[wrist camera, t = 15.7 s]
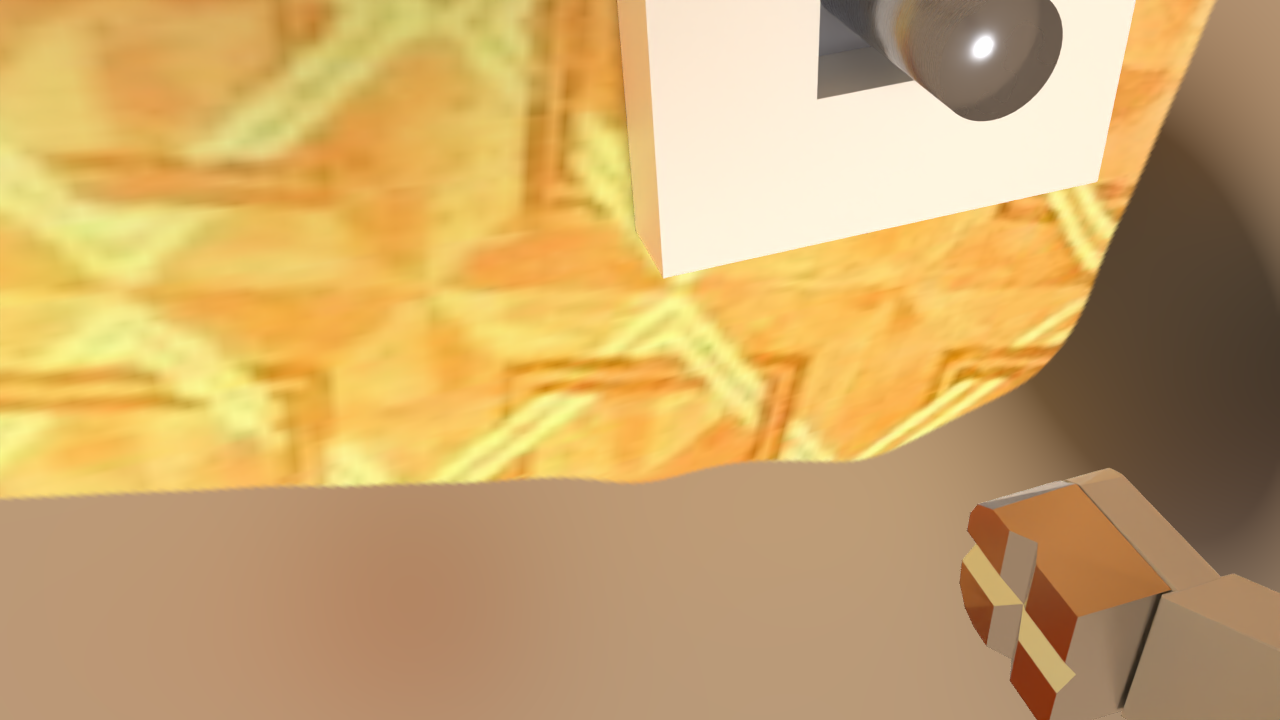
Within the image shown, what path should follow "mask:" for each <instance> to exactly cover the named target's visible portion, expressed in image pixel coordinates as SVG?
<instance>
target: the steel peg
mask: <svg viewBox="0 0 1280 720" xmlns="http://www.w3.org/2000/svg"><path fill="white" fill-rule="evenodd" d="M820 2H821V4H822V6H823V7H824V8H825V9H826V10H827V11H828V12H830V13H831V14H832V15H833V16H835V17H836V18H837V19H838V20H840V21H841V22H842V23H843V24H845V25H846V26H847V27H848V28H850V29H851V30H852V31H853V32H855V33H856V34H857V35H858V36H860V37H861V38H862V39H863V40H865V41H866V42H867V43H868V44H870V45H871V46H872V47H873V48H875V49H876V50H877V51H878V52H880V53H881V54H882V55H883V56H885V57H886V58H887V59H888V60H890V61H891V62H892V63H893V64H895V65H896V66H897V67H898V68H900V69H901V70H902V71H903V72H905V73H906V74H907V75H908V76H910V77H911V78H912V79H913V80H915V81H916V82H917V83H918V84H920V85H921V86H922V87H923V88H925V89H926V90H927V91H928V92H930V93H931V94H932V95H933V96H935V97H936V98H937V99H938V100H940V101H941V102H942V103H943V104H945V105H946V106H947V107H948V108H950V109H951V110H952V111H953V112H955V113H956V114H957V115H959V116H961V117H963V118H965V119H968V120H972V121H991V120H996V119H999V118H1002V117H1005V116H1007V115H1009V114H1011V113H1013V112H1015V111H1017V110H1018V109H1020V108H1021V107H1023V106H1024V105H1025V104H1026V103H1028V102H1029V101H1030V100H1031V99H1032V98H1033V97H1034V96H1035V95H1036V94H1037V93H1038V92H1039V91H1040V90H1041V89H1042V87H1043V86H1044V85H1045V83H1046V82H1047V81H1048V79H1049V77H1050V76H1051V74H1052V72H1053V70H1054V68H1055V66H1056V64H1057V61H1058V58H1059V55H1060V51H1061V47H1062V40H1063V28H1062V21H1061V18H1060V15H1059V13H1058V10H1057V8H1056V7H1055V6H1054V4H1053V3H1052V2H1051V1H1050V0H820Z"/></svg>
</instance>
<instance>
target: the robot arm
mask: <svg viewBox="0 0 1280 720" xmlns="http://www.w3.org/2000/svg"><path fill="white" fill-rule="evenodd" d="M967 532H968V533H969V534H970V536H971V537H972V538H973V540H974V541H975V543H976V544H975V545H974V547H973V548H972V549H971V550H970V552H969V553H968V554H967V555H966V556H965V558H964V559H963V560H962V564H961V574H960V588H961V592H962V597H963V602H964V606H965V609H966V611H967V613H968V615H969V618H970V620H971V622H972V624H973V627H974V628H975V630H976V631H977V633H978V634H979V636H980V637H981V639H982V640H983V642H984V643H985V645H986V646H987V647H989V648H991V649H993V650H995V651H997V652H999V653H1001V654H1003V655H1004V656H1006V657H1008V658H1011V671H1010V682H1011V683H1012V685H1013V686H1014V688H1015V689H1016V690H1017V692H1018V693H1019V695H1020V696H1021V698H1022V699H1023V700H1024V702H1025V703H1026V705H1027V706H1028V708H1029V709H1030V711H1031V712H1032V714H1033V715H1034V717H1035V718H1036V719H1037V720H1094V719H1097V718H1100V717H1103V716H1107V715H1110V714H1114V713H1118V712H1121V711H1122V714H1121V716H1122V717H1123V718H1125V719H1127V720H1280V593H1278V592H1276V591H1274V590H1271V589H1269V588H1267V587H1264V586H1262V585H1259V584H1257V583H1255V582H1252V581H1250V580H1248V579H1245V578H1243V577H1241V576H1238V575H1236V574H1230V575H1227V576H1222V577H1220V576H1219V574H1218V573H1217V572H1216V571H1215V570H1214V569H1213V568H1212V567H1211V566H1210V565H1209V564H1208V563H1207V562H1206V561H1205V560H1204V559H1203V558H1202V557H1201V556H1200V555H1199V554H1198V553H1197V552H1196V551H1195V550H1194V548H1193V547H1192V546H1191V545H1189V543H1188V542H1187V541H1186V540H1185V539H1184V538H1183V537H1182V536H1181V535H1180V534H1179V533H1178V532H1177V531H1176V530H1175V529H1174V528H1173V527H1172V526H1171V525H1170V524H1169V522H1168V521H1167V520H1166V519H1165V518H1164V517H1163V516H1162V515H1161V514H1160V513H1159V512H1158V511H1157V510H1156V509H1155V508H1154V507H1153V506H1152V505H1151V504H1150V503H1149V502H1148V501H1147V500H1146V499H1145V498H1144V497H1143V496H1142V494H1140V492H1139V491H1138V490H1137V489H1136V488H1135V487H1134V486H1133V485H1132V484H1131V483H1130V482H1129V481H1128V480H1127V479H1126V478H1125V477H1124V476H1123V475H1122V474H1121V473H1119V472H1117V471H1115V470H1113V469H1111V468H1107V469H1103V470H1099V471H1095V472H1092V473H1089V474H1085V475H1081V476H1077V477H1074V478H1071V479H1067V480H1064V481H1056V482H1052V483H1049V484H1046V485H1042V486H1038V487H1035V488H1032V489H1028V490H1025V491H1021V492H1018V493H1014V494H1011V495H1007V496H1004V497H1001V498H997V499H994V500H990V501H987V502H983V503H980V504H977V506H976V507H975V508H974V509H973V511H972V512H971V513H970V517H969V523H968V528H967Z"/></svg>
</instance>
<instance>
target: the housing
mask: <svg viewBox="0 0 1280 720" xmlns="http://www.w3.org/2000/svg"><path fill="white" fill-rule="evenodd" d="M1050 1H1051V2H1052V3H1053V4H1054V6H1055V7H1056V8H1057V10H1058V13H1059V15H1060V18H1061V21H1062V28H1063V40H1062V47H1061V51H1060V55H1059V58H1058V61H1057V64H1056V66H1055V68H1054V70H1053V72H1052V74H1051V76H1050V77H1049V79H1048V81H1047V82H1046V83H1045V85H1044V86H1043V87H1042V89H1041V90H1040V91H1039V92H1038V93H1037V94H1036V95H1035V96H1034V97H1033V98H1032V99H1031V100H1030V101H1029V102H1028V103H1026V104H1025V105H1024V106H1023V107H1021V108H1020V109H1018V110H1017V111H1015V112H1013V113H1011V114H1009V115H1007V116H1005V117H1002V118H999V119H996V120H991V121H972V120H968V119H965V118H963V117H961V116H959V115H957V114H956V113H955V112H953V111H952V110H951V109H950V108H948V107H947V106H946V105H945V104H943V103H942V102H941V101H940V100H938V99H937V98H936V97H935V96H933V95H932V94H931V93H930V92H928V91H927V90H926V89H925V88H923V87H922V86H921V85H920V84H918V83H917V82H916V81H915V80H913V79H912V78H911V77H910V76H908V75H907V74H906V73H905V72H903V71H902V70H901V69H900V68H898V67H897V66H896V65H895V64H893V63H892V62H891V61H890V60H888V59H887V58H886V57H885V56H883V55H882V54H881V53H880V52H878V51H877V50H876V49H875V48H873V47H872V46H871V45H870V44H868V43H867V42H866V41H865V40H863V39H862V38H861V37H860V36H858V35H857V34H856V33H855V32H853V31H852V30H851V29H850V28H848V27H847V26H846V25H845V24H843V23H842V22H841V21H840V20H838V19H837V18H836V17H835V16H833V15H832V14H831V13H830V12H828V11H827V10H826V9H825V8H824V7H823V6H822V4H821V2H820V0H617V6H618V18H619V31H620V43H621V56H622V68H623V80H624V93H625V105H626V118H627V130H628V142H629V155H630V167H631V180H632V192H633V204H634V217H635V229H636V232H637V234H638V235H639V237H640V239H641V241H642V242H643V244H644V246H645V247H646V249H647V251H648V253H649V254H650V256H651V258H652V260H653V261H654V263H655V265H656V266H657V268H658V270H659V272H660V273H661V275H662V277H663V278H666V277H671V276H675V275H680V274H684V273H689V272H693V271H698V270H702V269H707V268H711V267H716V266H720V265H725V264H729V263H734V262H738V261H743V260H747V259H752V258H756V257H761V256H765V255H770V254H774V253H779V252H783V251H788V250H792V249H797V248H801V247H806V246H810V245H815V244H819V243H824V242H828V241H833V240H837V239H842V238H846V237H851V236H855V235H860V234H864V233H869V232H873V231H878V230H882V229H887V228H891V227H896V226H900V225H905V224H909V223H914V222H918V221H923V220H927V219H932V218H936V217H941V216H945V215H950V214H954V213H959V212H963V211H968V210H972V209H977V208H981V207H986V206H990V205H995V204H999V203H1004V202H1008V201H1013V200H1017V199H1022V198H1026V197H1031V196H1035V195H1040V194H1044V193H1049V192H1053V191H1058V190H1062V189H1067V188H1071V187H1076V186H1080V185H1085V184H1089V183H1094V182H1097V181H1098V176H1099V171H1100V167H1101V162H1102V157H1103V152H1104V148H1105V143H1106V138H1107V134H1108V129H1109V124H1110V119H1111V115H1112V110H1113V105H1114V100H1115V96H1116V91H1117V86H1118V82H1119V77H1120V72H1121V67H1122V63H1123V58H1124V53H1125V49H1126V44H1127V39H1128V34H1129V30H1130V25H1131V20H1132V15H1133V11H1134V6H1135V1H1136V0H1050Z"/></svg>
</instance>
